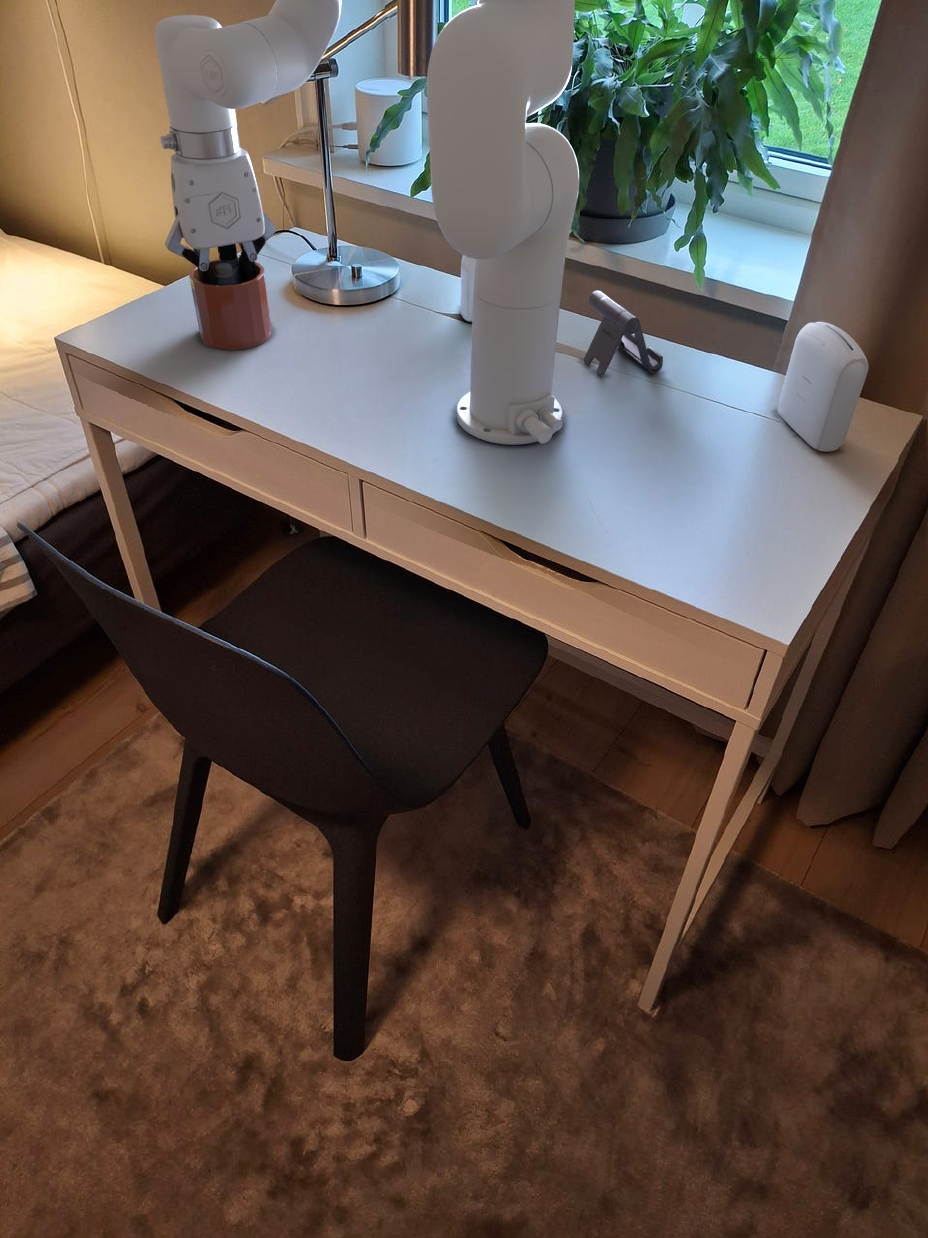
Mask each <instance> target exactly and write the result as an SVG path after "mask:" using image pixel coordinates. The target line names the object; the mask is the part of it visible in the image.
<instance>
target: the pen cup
mask: <svg viewBox="0 0 928 1238" xmlns="http://www.w3.org/2000/svg"><path fill="white" fill-rule="evenodd" d="M238 262H239V260H238ZM219 263H220V260H219V258H216V259H215V258H214V259H209V264H210V267H211V268H212V269H213V271H214V274H215V273H216V267H215V266H216V265H217V264H219ZM255 268H256V275H257V277H256V278H255V279H253V280H250V281H248V282H245V283H241V284H236V285H225V286H217V285H210V284H205V283H202V282H200V278H199V273H198V267H197V266H195V265H194V266H193V268H191V269H190V270H189V271H190V272H189V283H190V289H191V292H192V293H191V294H192V299H193V305H194V310H195V315H196V321H197V326H198V327H197V328H198V333H199V335H200V338H201V339H200V340H201V341H202V342H203V344H205V345H206V346H208V347H210V348H214V349H218V350H223V351H239V350H246V349H251V348H255V347H258V346H260V345H262V344H264V343H265V342H267V341H269V339H270V338H271V336H272V333H273V330H272V320H271V312H270V304H269V303H270V302H269V296H268V289H267V280H266V271H265V267H264V266H263V265H261V263H259V262H257V261H255ZM215 280H216V277H215Z"/></svg>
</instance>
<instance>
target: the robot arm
mask: <svg viewBox="0 0 928 1238" xmlns="http://www.w3.org/2000/svg"><path fill="white" fill-rule="evenodd" d="M575 2H576V0H477V4H476V5H473V6H471V7H469V8H466V9H464V10H461V11H459V13H457V14H456V15H454V16H453V17H452V18H450V20H448V22H446V24H445V25H444V26H443V28H441V30H440V32H439V33H438V35H437V37H436V39H435V41H434V43H433V47H432V49H431V52H430V56H429V61H428V64H427V65H428V66H427V74H426V108H427V109H426V111H427V129H428V149H429V150H428V151H429V167H430V168H429V170H430V188H431V198H432V206H433V211H434V216H435V219H436V222H437V224H438V225H437V226H438V228H439V230H440V231H441V233H442V235H443V237H444V238H445V240H446V241H447V243H448V244H449V245H450V246H451V247H452V248H453V249H454V250H455V251H457V252H458V253H459V254H461V255H462V256H463V255H464V256H466V257H469V258H473V259H475V267H474V286H473V311H472V321H471V348H470V349H471V351H470V385H469V387H470V390H469V392H467V393H465V395H463V396H462V397H461V398H460V399H459V401H458V402H457V405H456V420H457V422H458V425H460V427H461V428H462V429H463V430H464V432H467V433H468V434H469V435H471V436H473V437H474V438H477V439H480V440H482V441H485V442H488V443H492V444H498V445H499V444H500V445H506V446H507V445H508V446H510V445H511V446H513V445H515V446H517V445H528V444H533V443H537V442H538V443H540V444H543V445H544V444H546V443H548V442H550V440H551V439H552V437H553V435H554V434H555V433H556V432H559V431H560V430H561V429H562V428H563V426H564V422H563V412H564V411H563V408H562V406H561V404H560V403H559V401H558V400H557V399H556V396H555V395H554V394H552V392H553V382H554V381H553V380H554V372H555V361H556V352H557V351H556V350H557V342H558V341H557V339H558V330H559V329H558V328H559V321H560V319H559V318H560V309H561V299H562V298H561V297H562V290H563V283H564V282H563V281H564V280H563V279H564V271H565V261H566V255H567V249H568V243H569V238H570V234H571V230H572V226H573V220H574V217H575V213H576V208H577V202H578V197H579V190H580V170H579V163H578V159H577V157H576V153H575V151H574V149H573V147H572V145H571V144H570V142H569V140H568V139H567V138H566V137H565V136H564V135H563V134H562V133H561V132H560V131H559V130H557V129H556V128H554V127H551V126H550V125H547V124H543V123H537V122H530V123H529V122H528V123H527V117H529V116H531V115H533V114H536V113H537V112H539V111H541V110H542V109H544V108H545V107H548V106H549V105H551V104H552V103H553V102H555V101H556V100H557V99H558V98H559V97H561V95H562V93H563V92H564V91H565V89H566V87H567V85H568V83H569V81H570V78H571V74H572V68H573V60H574V37H575V36H574V35H575V34H574V31H575V8H576V7H575V6H576V3H575ZM341 12H342V0H275V2H274V4H273V5H272V7H271V9H270V10H269V12H268V14H267V15H265V16H260V17H256V18H253V19H249V20H244V21H241V22H237V23H234V24H230V25H226V26H225V25H224V26H222V25H221V24H220V23H219V21H217V20H216V19H215V18H213V17H209V16H206V15H200V14H199V15H197V14H184V15H173V16H168V17H165V18H163V19H160V20H159V21H158V22H157V24H156V26H155V28H154V40H155V41H154V42H155V46H156V52H157V57H158V58H157V59H158V62H159V69H160V74H161V80H162V84H163V85H162V86H163V90H164V91H163V92H164V96H165V103H166V107H167V108H166V109H167V113H168V118H169V124H170V126H168V128H169V131H168V133H167V134H166V135H162V136H160V144H161V147H162V149H163V150H168V149H169V150H170V151H171V150H173V152H175V153H172V154H171V156H170V180H171V181H170V183H171V184H170V185H171V196H172V206H173V214H174V221H173V222H172V225H171V227H170V230H169V232H168V235H167V236H166V239H165V242H164V247H165V248H166V249H167V250H168V252H171V253H173V254H175V255H177V256H179V257H182V258H184V259H185V260H187V261H188V262H190V263H191V264H192V265H194V267H195V266H197V267H198V273H199V278H200V282H202V283H205V284H210V285H216V280H215V274H214V271H213V269H212V268H211V267H210V264H209V260H210V249H214V248H217V247H220V246H225V245H231V244H236V245H237V244H238V247H239V249H240V254H239V255H238V260H239V266H240V273H241V280H242V283H245V282H248V281H250V280H253V279H255V278H256V277H257V275H256V268H255V262H257V261H258V258H259V257H258V255H259V254H260V252H261V251H262V249H263V248H264V247H265V245H266V242H267V241H269V240H270V239H271V238H272V237H273V236H274V235H275V234H276V232H277V226H276V224H274V222H273V221H272V220H271V219H270V218H269V217H268V216H267V215H266V213H265V212H264V211H263V205H262V201H261V197H260V191H259V187H258V183H257V179H256V175H255V171H254V168H253V164H252V159H251V158H250V155H249V152H248V150H246V149H243V147H241V145H240V137H239V131H238V123H237V121H238V120H237V114H236V110H239V109H240V110H241V109H246V108H248V107H252V106H254V105H257V104H260V103H263V102H265V101H268V100H270V99H273V98H275V97H278V96H283V95H285V94H288V93H291V92H293V91H296V90H298V89H299V88H300V87H302V86H303V85H304V84H305V83H306V82H307V81H308V80H309V79H310V78H311V76H312V75H313V74H314V72H315V71H316V69H317V67H318V66H319V65H320V62H321V60H322V59H323V57H324V55H325V53H326V51H327V50H328V48H329V46H330V43H331V42H332V40H333V38H334V35H336V34H335V33H336V32H337V29H338V26H339V23H340V18H341ZM182 239H183V240H184V241H185V243H186V245H185V244H182V243H181V242H182ZM187 245H188V246H189V247H188V246H187Z"/></svg>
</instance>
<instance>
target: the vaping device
mask: <svg viewBox="0 0 928 1238" xmlns="http://www.w3.org/2000/svg"><path fill="white" fill-rule="evenodd" d="M216 248H217V252H218V259H219V260H220V263H219V264H217V265H216V266H215V267H216V273H215V277H216V285H217V286H225V285H236V284H241V283H242V280H241V273H240V266H239V262H238V258H239V255H238V250H237V243H236V244H231V245H225V246H220V247H216Z"/></svg>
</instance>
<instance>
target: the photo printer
mask: <svg viewBox="0 0 928 1238" xmlns="http://www.w3.org/2000/svg"><path fill="white" fill-rule="evenodd" d="M794 340H795V341H794V345H793V349H792V351H791V355H790V359H789V363H788V366H787V370H786V373H785V377H784V381H783V385H782V388H781V392H780V396H779V400H778V404H777V413H778V415H779V416H780V417H781V418H782V419H783V420H784V422H785V423H787V425H788V426H789V427H790V428H791V429H792V430H793V431H795V433H796V434H797V435H798V436H799V437H800V438H801V439H802V440H804V441H805V442H806V443H807V444H808V445H809V446H810V447H811V448H813V449H814V450H817V451H819V452H835V451H837V450H838V449H839V448H840V447H841V446H843V445H844V443H845V441H846V438H847V436H848V432H849V430H850V427H851V424H852V420H853V417H854V414H855V412H856V407H857V405H858V402H859V399H860V396H861V393H862V390H863V387H864V384H865V381H866V379H867V375H868V372H869V362H868V359H867V357H866V355H865V353H864V351H863V350H862V348H861V347H860V346H859V344H858V343H857V341H855V340H854V339H853V337H851V336H850V335H849V334H848V333H847V332H845V330H843V329H841V328H840V327H838V326H836V325H834V324H832V323H829V322H825V321H815V322H808V323H807V324H805V325H804V326H803V327H802V328H801V329H800V330H799V332H798V334H797V336H796V338H795V339H794Z"/></svg>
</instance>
